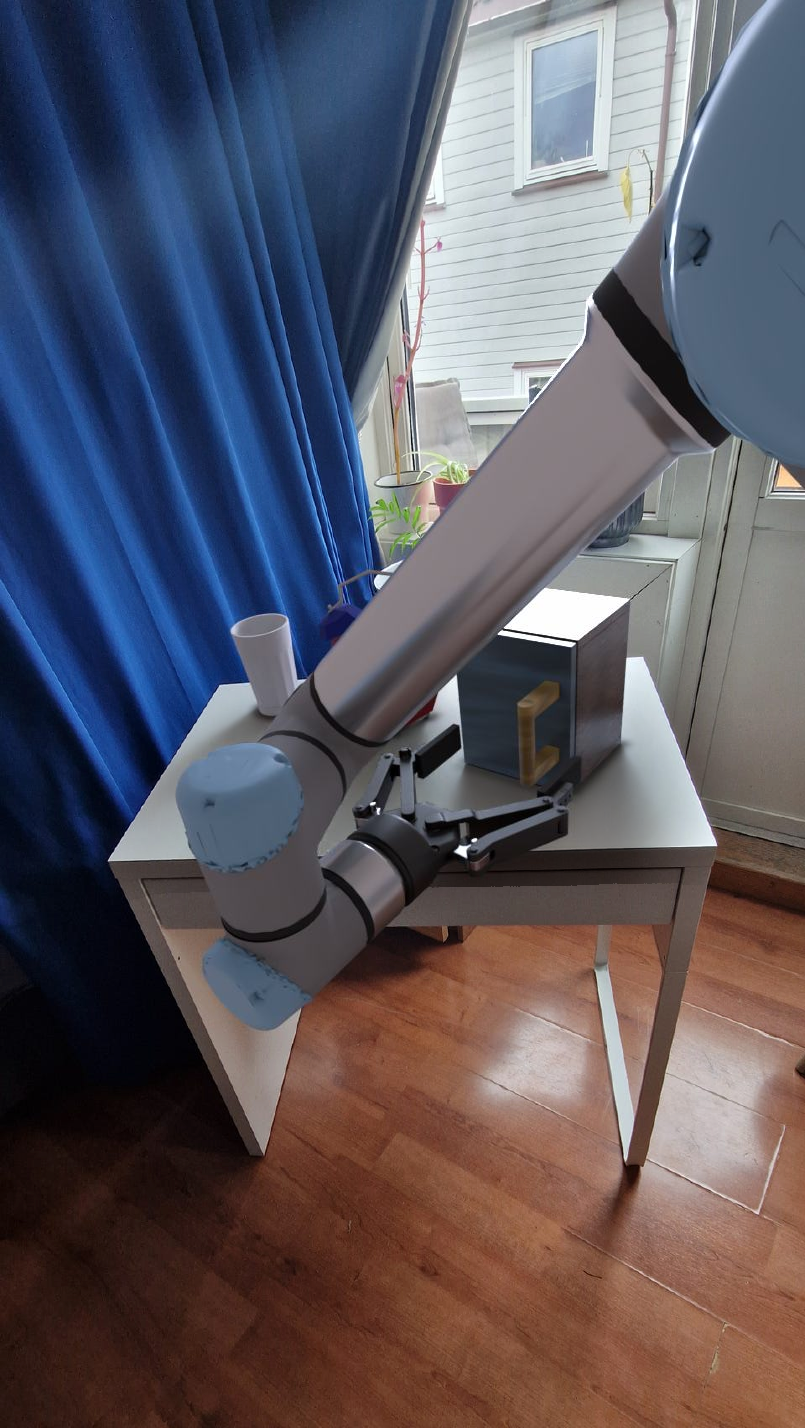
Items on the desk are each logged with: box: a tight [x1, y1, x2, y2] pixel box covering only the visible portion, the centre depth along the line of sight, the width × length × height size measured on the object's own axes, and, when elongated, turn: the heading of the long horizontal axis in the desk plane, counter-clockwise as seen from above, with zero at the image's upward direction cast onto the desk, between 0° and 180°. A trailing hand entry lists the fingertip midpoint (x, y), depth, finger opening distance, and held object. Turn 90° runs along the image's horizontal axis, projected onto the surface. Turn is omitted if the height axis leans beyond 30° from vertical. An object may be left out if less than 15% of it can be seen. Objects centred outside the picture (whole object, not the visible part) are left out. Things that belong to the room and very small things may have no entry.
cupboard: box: [502, 588, 631, 790], centre depth 81 cm, size 11×14×17 cm
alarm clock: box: [318, 569, 439, 732], centre depth 91 cm, size 15×9×20 cm, turn 97°
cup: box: [229, 613, 299, 717], centre depth 101 cm, size 8×8×12 cm
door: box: [456, 631, 576, 787], centre depth 76 cm, size 7×14×17 cm, turn 50°
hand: (514, 751), depth 70 cm, fingers open, 13 cm apart
